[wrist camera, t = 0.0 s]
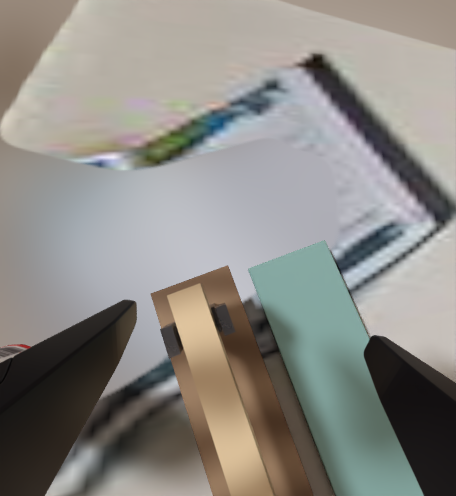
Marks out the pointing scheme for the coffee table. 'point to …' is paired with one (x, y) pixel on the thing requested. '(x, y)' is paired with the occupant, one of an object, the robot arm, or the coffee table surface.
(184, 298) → the oak rail
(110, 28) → the coffee table surface
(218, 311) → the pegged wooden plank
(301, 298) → the teal mat
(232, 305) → the walnut board
